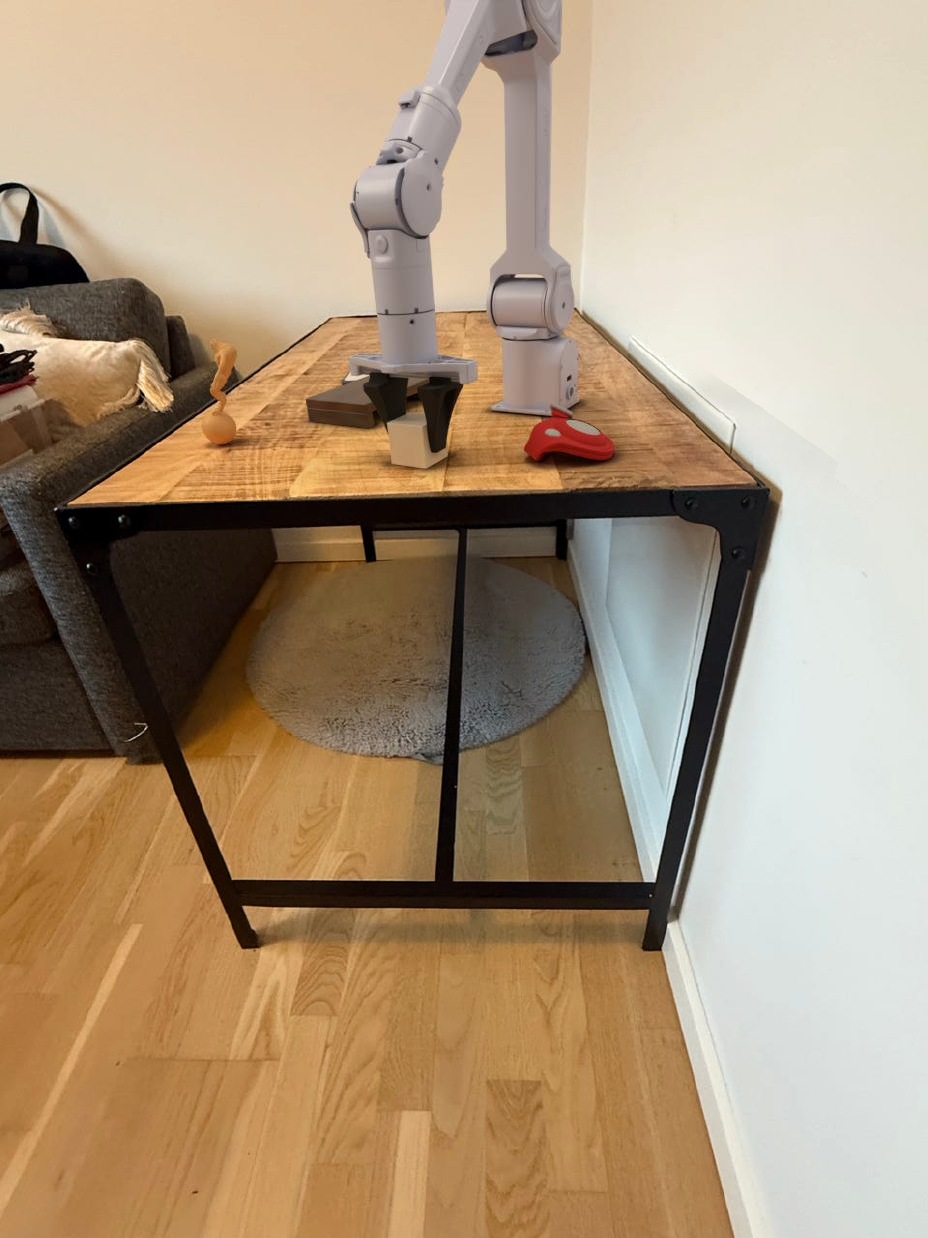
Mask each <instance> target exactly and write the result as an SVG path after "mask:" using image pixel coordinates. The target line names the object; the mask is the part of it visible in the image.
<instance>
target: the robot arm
mask: <svg viewBox="0 0 928 1238" xmlns="http://www.w3.org/2000/svg"><path fill="white" fill-rule="evenodd" d="M443 7H444V13H445V19H444V22H443V26H442V28H441V32H440V35H439V36H438V37H439V38H438V40H437V43H436V46H435V49H434V52H433V55H432V59H431V61H430V63H429V67H428V70H427V74H426V76H425V80H424V82H423V84H422V83H420V84H419V83H418V84H416V85H413V86H411V87H409V88H408V89H407V90H404V91H402V93H401V95H400V97H399V100H398V101H397V102H398V105H399V108H398V109H397V112H396V114H395V117H394V119H393V121H392V124H391V126H390V129H389V131H388V133H387V136H386V138H385V140H384V141H383V143H382V145H381V147H380V151H379V154H378V157H377V159H376V162H375V165H370V166H368V167H365V168H364V169H363V170H362V171H361V173H360V175H359V176H358V178H356V181H355V182H354V185H353V188H352V189H353V190H352V202H350V203H349V210H350V214H351V217H352V220H353V222H354V224H355V227H356V228H357V230H358V231H359V233H360V235H361V237H362V242H363V249H364V253H365V254H366V257H367V258H368V259H369V260H370V266H371V273H372V284H373V291H374V293H373V294H374V301H375V309H376V310H375V311H376V318H377V326H378V336H379V345H380V346H379V347H380V352H379V353H378V352H377V353H364V352H363V353H361V352H359V353H356V354H353V355H350V356H348V357H347V358H348V364H349V365H348V366H349V372H351V376H360V375H370V379H369V382H367V383H364V384H363V389H364V392H365V393H366V394H367V396H368V397H369V398H370V400H371V401H372V403H373V404H374V406H375V407H376V409H377V410H376V411H377V413H378V415H379V417H380V418H381V421H382V423H383V425H384V428H385V431H386V434H388V427H387V423H388V422H390V421H392V420H394V419H396V418H399V417H401V416H403V415H405V414H407V398H406V396H407V386H408V379H409V378H414V379H427V380H429V383H426V384H424V385H422V386H419V387H417V392H418V394H419V397H420V399H419V400H420V402H421V406H422V409H423V413H425V417H426V422H427V431H428V440H429V445H430V449H431V452H432V453H438V452H439V451H441V450H443V449H445V448H446V442H447V443H448V435H449V428H450V425H451V420H452V416H453V413H454V410H455V407H456V404H457V401H458V399H459V397H460V395H461V392H462V390H463V388H464V385H470V384H473V383H475V382H477V381H478V380H479V371H478V360H477V359H469V358H463V357H455V356H451V355H445V354H440V353H439V347H438V332H437V330H438V329H437V319H436V318H437V317H436V305H435V293H434V292H435V291H434V279H433V278H434V276H433V265H432V264H433V262H432V250H431V249H432V248H431V247H432V246H431V236H430V235H431V233H432V232H433V231H434V230H435V228H436V227H437V225H438V223H439V222H440V220H441V217H442V210H443V199H442V198H443V197H442V194H443V188H444V186H445V184H444V181H445V178H444V176H443V174H444V172H445V169H446V167H447V165H448V162H449V160H450V157H451V156H452V153H453V151H454V149H455V146H456V143H457V141H458V138H459V136H460V133H461V131H462V117H461V114H460V111H459V109H458V106H459V104H460V102H461V100H462V99H463V97H464V95H465V92H466V91H467V89H468V87H469V85H470V84H471V81H472V79H473V77H474V75H475V74H476V72H477V70H478V67H479V66H480V64H482V65H483V66H484V67H485V68H486V69H488V70H491V71H493V72H495V73H496V74H497V75H498V77H499V79H500V80H501V82H502V83H503V98H504V99H503V102H504V103H503V105H504V106H503V107H504V168H505V169H504V176H505V178H504V179H505V180H504V181H505V238H506V239H505V243H506V245H505V246H506V248H505V251H504V252H503V253H501V255H500V256H499V257H498V258H497V260H495V262H494V263H493V264H492V265H491V266H490V268H489V287H488V290H487V294H486V299H485V310H486V316H487V318H488V321H489V323H490V325H491V327H492V328H493V329H494V330H495V331H496V337H499V338H500V337H501V360H502V361H501V362H502V365H501V366H502V399H503V400H500V401H499V402H496V403H495V404H493V405H492V406H490V410H491V411H495V412H507V413H515V414H516V413H517V414H525V415H526V414H527V415H538V416H546V417H547V416H549V417H552V414H551V409H550V403H551V402H552V403H554V404H556V405H559V406H561V407H563V408H565V409H567V410H569V408H571V407H573V406H574V405H575V404H577V403H579V402H580V398H579V397H578V383H579V382H578V381H579V347H578V343H577V341H576V339H574V338H573V337H568V336H567V337H566V336H562V335H563V334H564V332H565V331H566V330H567V328H568V326H569V324H570V323H571V321H572V319H573V316H574V310H575V293H574V289H573V283H572V270H571V269H572V266H571V264H570V263H569V261H567V260H566V259H565V258H564V257H563V256H561V254H560V253H559V252H558V251H556V250H555V249H554V248H553V247H552V246H551V245H550V244H551V189H552V188H551V187H552V186H551V185H552V183H551V180H552V177H551V176H552V121H553V119H552V117H553V116H552V115H553V112H552V111H553V62H554V61H555V60H556V59H557V58H558V57H559V56H560V54H561V51H562V34H563V33H562V31H563V29H562V28H563V0H443ZM517 275H538V276H541V277H525V276H524V277H521V276H519V277H516V276H517Z"/></svg>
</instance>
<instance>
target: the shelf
mask: <svg viewBox="0 0 928 1238" xmlns="http://www.w3.org/2000/svg"><path fill="white" fill-rule="evenodd" d="M369 379H370V376H367V377H364V378H361V379H358V380H356V381H353V382H350V383H347V384H345V385H342V384H341V385H340V386H339V385H338V386H337V387H333V388H331V389H328V390H325V391H323V392H320V393H316V394H314V395H312V396H309V397H306V398H305V404H306V410H307V417H308V421H309V422H311V423H320V424H329V425H336V426H345V427H354V428H360V429H361V428H363V429H371V428H374V427H375V420H374V419H375V418H374V413H373V412H376V411H377V409H376V407H375V406H374V404H373V403H372V401H371V400H370V398H369V397H368V396H367V394H366V393H365V392H364V389H363V384H364V383H367V382H369ZM426 383H429V380H427V379H414V378H409V379H408V386H407V396H406V399H416V400H420V397H419V394H418V392H417V387H419V386H422V385H424V384H426Z"/></svg>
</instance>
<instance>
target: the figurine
mask: <svg viewBox="0 0 928 1238" xmlns="http://www.w3.org/2000/svg"><path fill="white" fill-rule="evenodd" d="M209 343H210V344H211V345H210V346H209V347H210V349H211V350H212V351H214V361H215V364H216V366H217V371H216V373H215V375H214V379H213V382H212V383H211V384H210V388H209V392H210V394H211V396H212V397H214V398H215V399H216V400H217V401H218V402H220V404H219V406H218V407H216V408H214V410H213V411H210V412H208V413H207V414H205V416H204V417H203V418H202V422H201V430H202V433H203V435H204V437H205V438H206V439H207V440H208V441H209V442H211V443H213V444H215V445H227V444H229V443H230V442H232V441H233V440H234V439H235V437H236V434H237V424H236V421H235V420H234V418H233V417H232V416H231V415H230V414H229V413H227V412H225V411H224V409H225V406H226V404H227V401H228V399H227V394H226V392H225V391H222V390H221V389H222V388H223V387H225V385H226V384H227V383H228V379H229V378H230V376H231V375H232V369H233V367H234V366H235V363H236V360H237V356H238V350H237V348H236V346H235V345H234V344H231V343H225V342H221V341H219V340H218V339H215V338H213V339H211V340H210V342H209Z"/></svg>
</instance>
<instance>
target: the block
mask: <svg viewBox="0 0 928 1238" xmlns="http://www.w3.org/2000/svg"><path fill="white" fill-rule="evenodd" d="M387 427H388V433H387V436H388V443H389V444H388V445H389V452H390V459H391V461H390V462H391V465H397V466H403V467H411V468H417V469H423V470H426V469H428V468H431V467H432V466H433V465H435V464H437V463H439V462H441V461H442V460H444V459H445V458H447V457H448V456H449V452H448V451H449V450H448V441H447V442H446V448H445V449H443V450H441V451H439V452H438V453H432V452H431V449H430V445H429V440H428V431H427V422H426V417H425V413H424V412H415V411H414V412H413V411H409V412H406V414H405V415H403V416H401V417H399V418H396V419H394V420H392V421H390V422H388V423H387Z"/></svg>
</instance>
